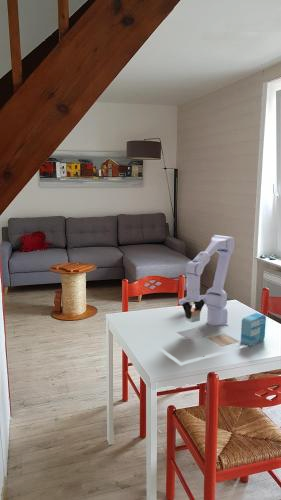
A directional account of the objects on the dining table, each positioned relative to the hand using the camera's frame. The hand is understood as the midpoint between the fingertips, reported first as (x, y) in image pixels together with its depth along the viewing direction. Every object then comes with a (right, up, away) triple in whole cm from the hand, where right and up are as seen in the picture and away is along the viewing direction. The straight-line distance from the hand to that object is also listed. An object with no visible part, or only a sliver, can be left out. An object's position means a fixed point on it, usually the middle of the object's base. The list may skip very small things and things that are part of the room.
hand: (192, 317), depth 186 cm
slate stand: (0, -9, +2) cm, 9 cm away
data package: (+26, -11, -4) cm, 28 cm away
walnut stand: (+13, -10, -5) cm, 17 cm away
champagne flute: (+4, -2, +38) cm, 38 cm away
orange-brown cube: (0, -1, 0) cm, 1 cm away
